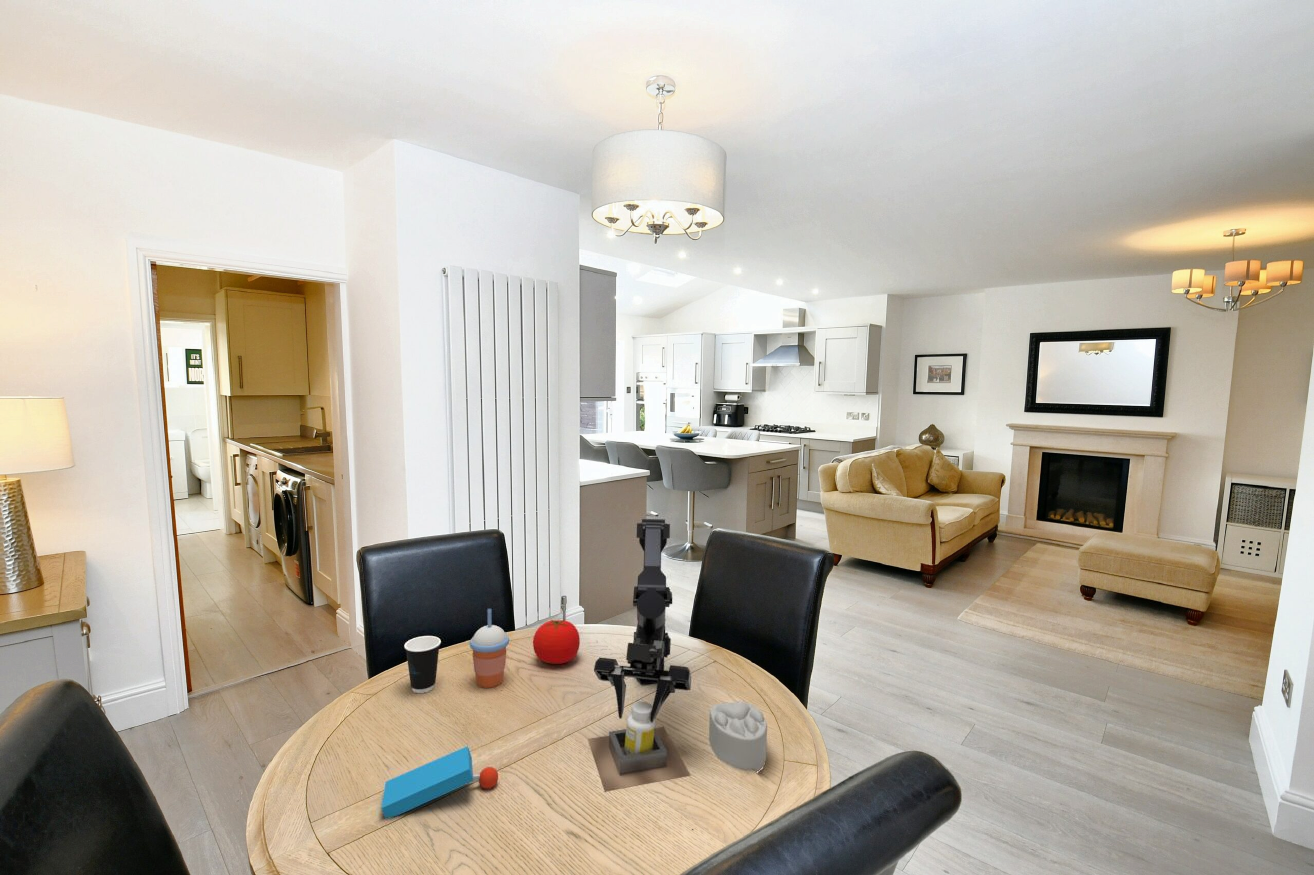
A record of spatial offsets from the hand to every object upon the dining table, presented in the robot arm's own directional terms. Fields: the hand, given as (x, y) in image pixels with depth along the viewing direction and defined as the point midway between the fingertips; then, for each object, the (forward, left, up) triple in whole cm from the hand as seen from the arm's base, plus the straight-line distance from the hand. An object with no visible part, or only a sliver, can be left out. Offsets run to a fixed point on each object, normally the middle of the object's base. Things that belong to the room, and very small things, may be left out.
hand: (635, 719), depth 111 cm
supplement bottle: (-1, -1, -8) cm, 8 cm away
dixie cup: (+40, -41, -10) cm, 59 cm away
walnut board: (-1, -1, -9) cm, 9 cm away
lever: (+34, -2, -10) cm, 36 cm away
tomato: (+8, -47, -10) cm, 49 cm away
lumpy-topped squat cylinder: (-21, +2, -10) cm, 23 cm away
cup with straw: (+25, -40, -10) cm, 49 cm away
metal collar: (-1, -1, -8) cm, 8 cm away
